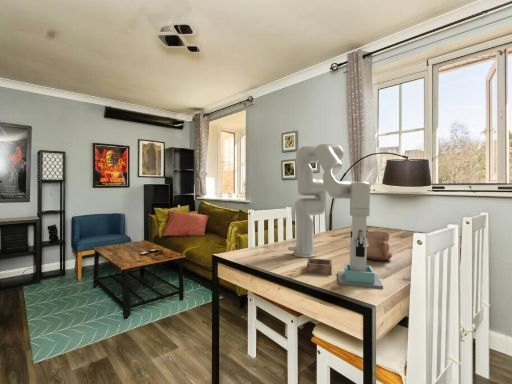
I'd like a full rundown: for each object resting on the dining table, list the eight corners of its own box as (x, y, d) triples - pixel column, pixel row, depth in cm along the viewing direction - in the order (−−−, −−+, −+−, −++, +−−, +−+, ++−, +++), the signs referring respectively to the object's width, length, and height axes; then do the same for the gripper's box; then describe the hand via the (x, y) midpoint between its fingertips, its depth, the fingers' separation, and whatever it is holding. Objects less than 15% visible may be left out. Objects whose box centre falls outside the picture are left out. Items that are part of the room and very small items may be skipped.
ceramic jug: (356, 254, 153) (356, 229, 152) (381, 254, 154) (381, 229, 153) (372, 265, 135) (373, 236, 134) (400, 264, 136) (401, 235, 135)
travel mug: (365, 281, 108) (366, 231, 107) (348, 278, 111) (348, 229, 111) (368, 277, 113) (368, 229, 113) (351, 274, 117) (352, 227, 116)
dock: (338, 284, 107) (339, 271, 107) (337, 273, 121) (337, 262, 121) (383, 288, 103) (383, 275, 103) (376, 276, 117) (377, 265, 116)
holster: (306, 272, 122) (306, 263, 121) (308, 266, 131) (308, 258, 131) (331, 274, 119) (331, 265, 119) (331, 268, 128) (331, 259, 128)
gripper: (348, 209, 121) (347, 248, 121) (351, 214, 104) (350, 258, 104) (366, 210, 119) (365, 249, 119) (372, 214, 102) (371, 260, 102)
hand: (358, 253), depth 112 cm, fingers open, 9 cm apart
